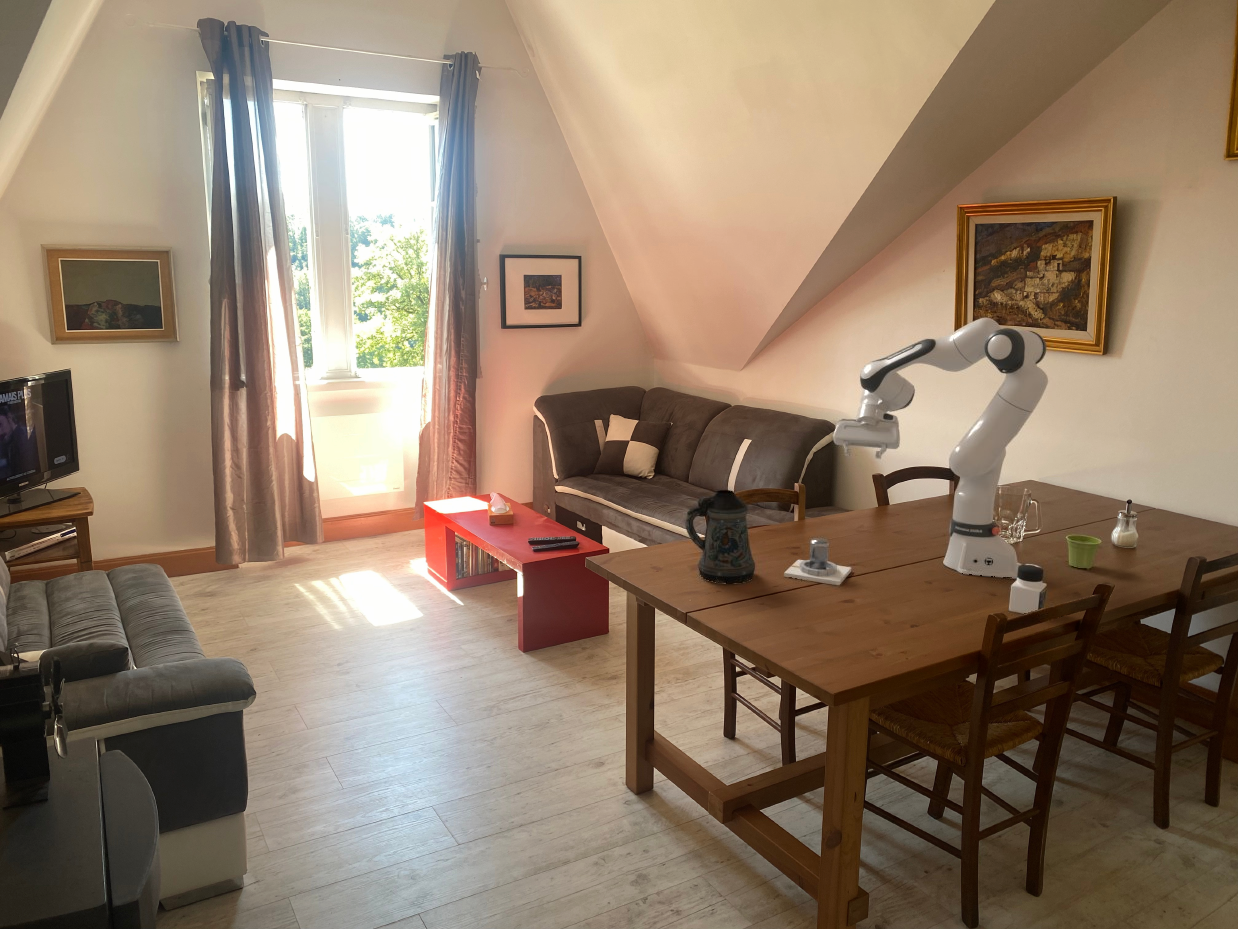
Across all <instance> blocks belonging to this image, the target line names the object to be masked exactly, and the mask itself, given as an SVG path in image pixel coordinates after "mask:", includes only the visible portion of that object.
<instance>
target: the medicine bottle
mask: <svg viewBox="0 0 1238 929" xmlns="http://www.w3.org/2000/svg"><path fill="white" fill-rule="evenodd" d="M1043 579H1044V569H1043V568H1042V567H1041V566H1038V565H1036V564H1030V563H1026V564H1025V563H1024V564H1021V565H1020V566H1019V567H1018V573H1017V578H1016V579H1015V581H1014V582H1013V583H1012V584H1011V585H1010V596H1009V607H1008V611H1010V612H1011V613H1018V614H1022V615H1025V614H1024V613H1028V612H1031V611H1035V610H1039V609H1041V608H1044V609H1045V606H1046V605H1045V604H1046V596H1047V583H1045V582H1043Z"/></svg>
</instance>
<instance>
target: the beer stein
mask: <svg viewBox="0 0 1238 929" xmlns="http://www.w3.org/2000/svg"><path fill="white" fill-rule="evenodd" d="M748 513H749V507H748V505H747V504H746V502H744V501H743V500H742V499H740V498H739V497H738V496H737V495H736V494H735V492H734V491H733V490H729V489H721V490H717V491H715V493H714V494H713V495H711V496H705V497H702V498H699V499H698V500H697V506H693V507H692V508H690V509H689V510H687V513H686V517H685V520H684V523H685V531H686V533H687V535H688V536H689V538H690V539H691V541H692V543H694V544H695V545H696V546H697V547H698V548H699V549H700V550H701V551H702V552H701V557H700V558H699V560H698V563H697V568H698V572H699V576H700V575H701V577H703V578H704V579H706V580H709V581H713V582H716V583H715V584H717V583H726V584H725V585H735V584H734V583H741V584H744V583H743V582H746V583H748V582H750V581H752V580H753V577H754V575H755V570H756V563H755V560H754V558H753V554H752V550H751V544H750V539H749V532H748V529H749V528H748V523H747V515H748ZM696 517H697V518H698V517H700V518H701V517H703V518H704V517H707V520H706V526H705V527H706V528H705V532H704V539H703V538H701V537H700V535H699V534H698V533H697V531H696V528H695V526H694V520H695V519H696ZM701 577H700V578H701ZM704 579H703V580H704ZM751 579H752V580H751ZM706 580H705V581H706ZM749 580H750V581H749ZM709 581H708V582H709ZM747 581H748V582H747ZM713 582H712V583H713Z"/></svg>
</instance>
